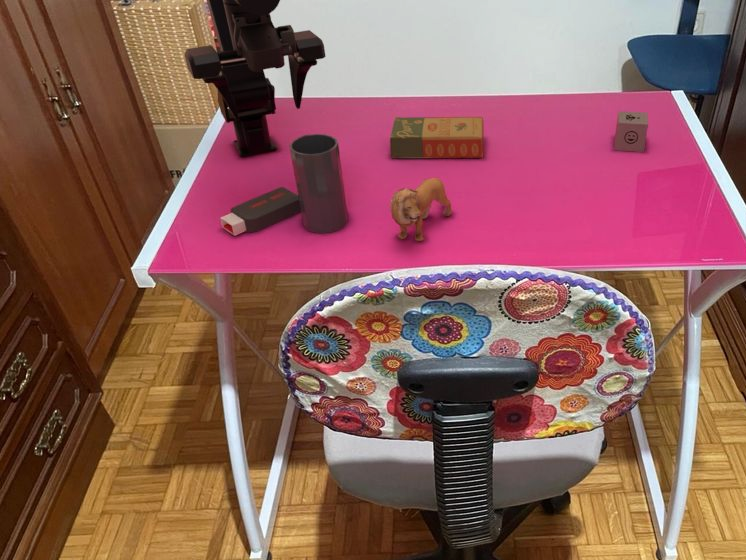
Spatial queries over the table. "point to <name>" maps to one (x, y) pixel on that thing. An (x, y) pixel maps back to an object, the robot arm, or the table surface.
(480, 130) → the carton
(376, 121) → the table surface
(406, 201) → the lion figurine
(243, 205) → the usb drive
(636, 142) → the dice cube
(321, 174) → the pen pot
